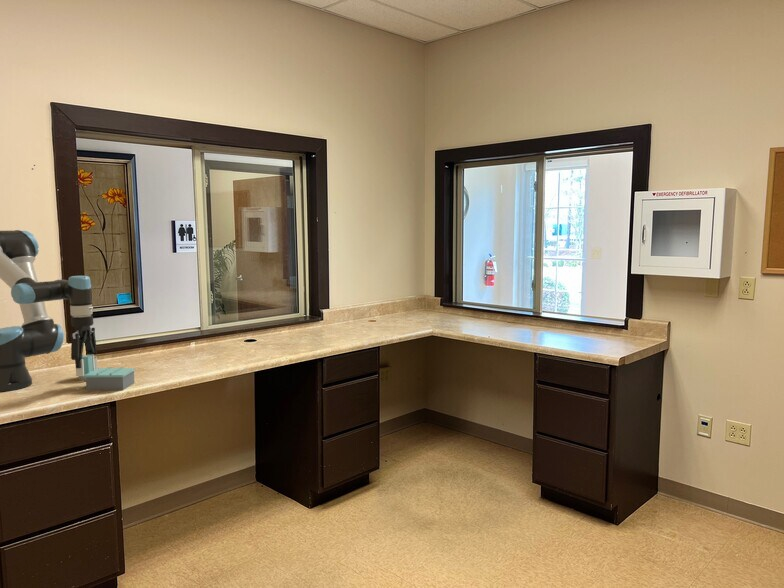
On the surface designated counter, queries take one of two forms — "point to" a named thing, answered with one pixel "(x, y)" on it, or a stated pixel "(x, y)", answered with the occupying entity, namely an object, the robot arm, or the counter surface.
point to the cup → (95, 369)
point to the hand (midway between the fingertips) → (85, 373)
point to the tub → (109, 382)
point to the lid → (103, 370)
